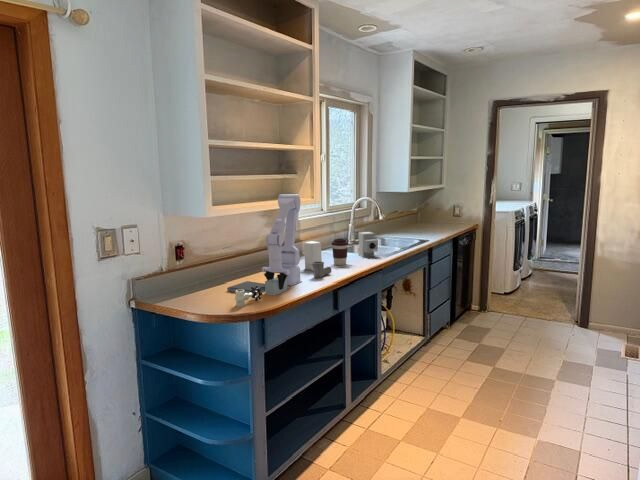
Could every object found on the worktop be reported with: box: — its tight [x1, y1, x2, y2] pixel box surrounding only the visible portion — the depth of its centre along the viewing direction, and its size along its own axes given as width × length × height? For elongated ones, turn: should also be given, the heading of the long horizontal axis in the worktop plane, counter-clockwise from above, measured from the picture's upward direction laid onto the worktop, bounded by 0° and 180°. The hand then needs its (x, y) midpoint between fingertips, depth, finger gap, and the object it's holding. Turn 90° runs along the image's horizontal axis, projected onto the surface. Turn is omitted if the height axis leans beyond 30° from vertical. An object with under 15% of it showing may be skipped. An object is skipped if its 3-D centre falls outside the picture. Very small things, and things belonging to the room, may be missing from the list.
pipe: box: [312, 261, 332, 279], centre depth 233 cm, size 6×13×8 cm, turn 137°
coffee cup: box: [331, 238, 349, 266], centre depth 262 cm, size 10×10×15 cm
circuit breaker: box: [357, 231, 379, 258], centre depth 285 cm, size 8×14×15 cm, turn 21°
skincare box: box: [303, 240, 323, 272], centre depth 250 cm, size 8×7×16 cm
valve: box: [234, 285, 263, 308], centre depth 186 cm, size 7×7×12 cm
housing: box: [264, 276, 288, 296], centre depth 203 cm, size 10×5×6 cm, turn 149°
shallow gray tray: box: [227, 280, 265, 294], centre depth 208 cm, size 14×15×2 cm
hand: (276, 288), depth 204 cm, fingers closed on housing, 5 cm apart
